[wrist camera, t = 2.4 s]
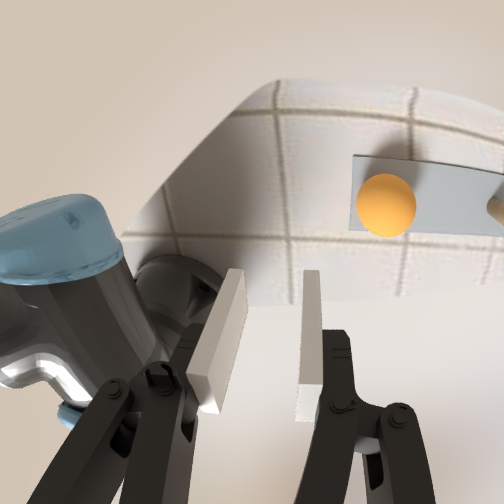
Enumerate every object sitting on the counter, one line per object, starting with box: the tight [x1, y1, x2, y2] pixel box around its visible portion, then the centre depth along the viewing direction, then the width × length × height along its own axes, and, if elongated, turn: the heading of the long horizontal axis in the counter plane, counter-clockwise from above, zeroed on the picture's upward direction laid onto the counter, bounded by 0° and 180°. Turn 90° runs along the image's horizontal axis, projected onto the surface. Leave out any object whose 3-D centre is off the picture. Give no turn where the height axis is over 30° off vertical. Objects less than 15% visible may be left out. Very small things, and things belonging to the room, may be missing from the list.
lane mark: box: [349, 156, 504, 237], centre depth 25 cm, size 28×8×1 cm, turn 94°
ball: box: [356, 174, 417, 237], centre depth 24 cm, size 6×6×6 cm
